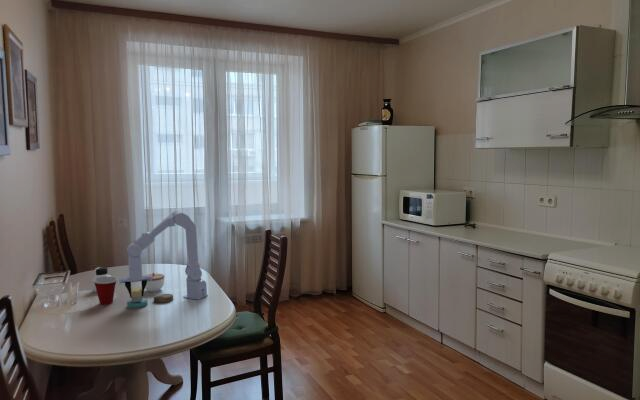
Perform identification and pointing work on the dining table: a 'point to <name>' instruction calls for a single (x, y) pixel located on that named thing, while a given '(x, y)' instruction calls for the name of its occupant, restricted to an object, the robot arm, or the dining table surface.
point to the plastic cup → (105, 289)
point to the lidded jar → (155, 282)
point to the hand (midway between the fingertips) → (136, 296)
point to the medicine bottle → (100, 275)
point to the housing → (136, 294)
